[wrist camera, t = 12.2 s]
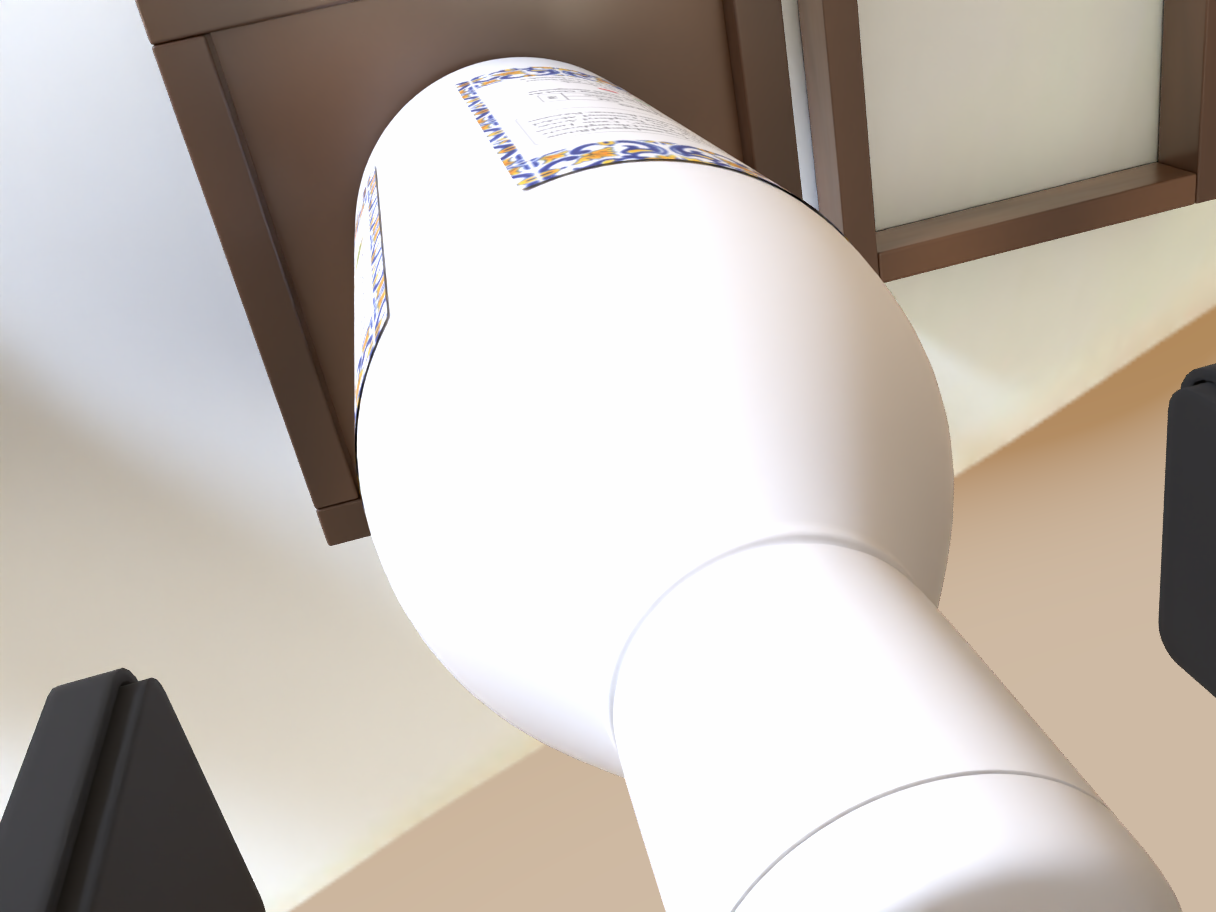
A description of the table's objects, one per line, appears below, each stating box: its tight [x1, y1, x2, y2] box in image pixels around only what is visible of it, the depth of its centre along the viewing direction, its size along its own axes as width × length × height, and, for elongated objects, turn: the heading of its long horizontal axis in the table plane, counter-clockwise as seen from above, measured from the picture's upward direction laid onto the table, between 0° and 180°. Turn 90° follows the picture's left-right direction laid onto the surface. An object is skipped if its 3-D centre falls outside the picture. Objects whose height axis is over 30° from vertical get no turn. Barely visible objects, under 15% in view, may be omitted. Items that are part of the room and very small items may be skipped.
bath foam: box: [354, 57, 1182, 912], centre depth 15 cm, size 7×7×20 cm
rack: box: [135, 0, 1216, 546], centre depth 29 cm, size 28×12×10 cm, turn 101°
